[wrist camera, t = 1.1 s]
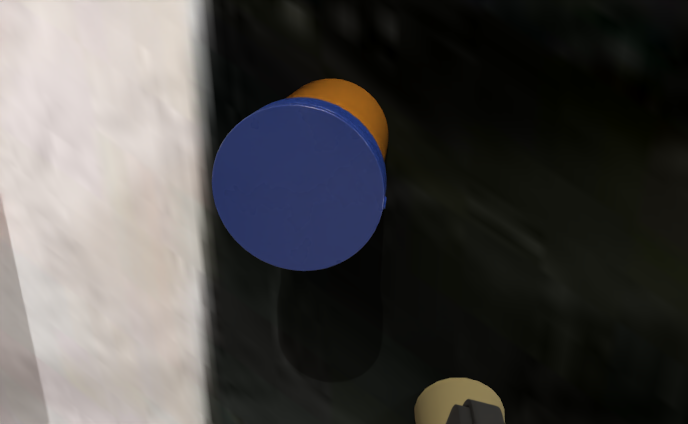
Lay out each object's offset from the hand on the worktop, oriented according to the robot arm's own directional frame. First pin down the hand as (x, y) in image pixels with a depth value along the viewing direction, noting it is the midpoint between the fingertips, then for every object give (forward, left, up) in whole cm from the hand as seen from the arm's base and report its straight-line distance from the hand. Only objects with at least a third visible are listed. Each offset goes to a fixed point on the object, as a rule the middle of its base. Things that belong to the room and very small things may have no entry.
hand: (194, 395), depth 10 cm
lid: (+1, 0, -13) cm, 13 cm away
